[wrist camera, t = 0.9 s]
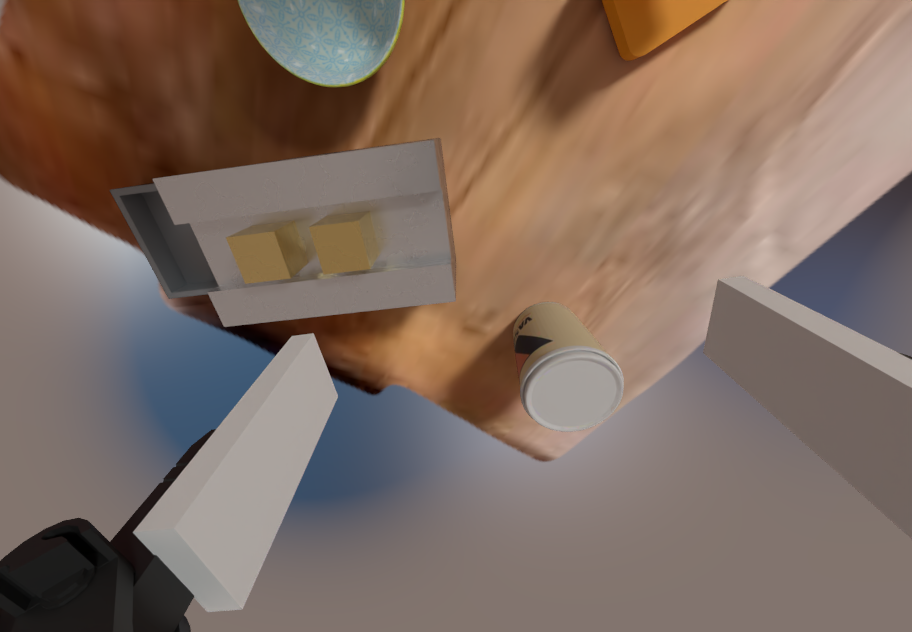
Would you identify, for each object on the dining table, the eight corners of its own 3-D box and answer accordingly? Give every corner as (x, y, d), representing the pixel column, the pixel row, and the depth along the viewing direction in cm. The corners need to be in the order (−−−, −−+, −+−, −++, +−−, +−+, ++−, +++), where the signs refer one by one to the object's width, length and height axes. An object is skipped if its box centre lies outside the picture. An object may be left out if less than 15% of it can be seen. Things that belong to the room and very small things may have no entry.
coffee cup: (512, 291, 40) (532, 349, 30) (593, 298, 41) (641, 357, 30) (500, 359, 44) (514, 431, 34) (573, 365, 45) (610, 437, 34)
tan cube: (325, 216, 27) (308, 227, 24) (369, 210, 27) (358, 220, 24) (337, 259, 29) (323, 274, 26) (379, 254, 29) (370, 269, 26)
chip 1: (251, 225, 28) (225, 237, 25) (294, 220, 28) (273, 231, 25) (267, 267, 29) (245, 283, 26) (308, 262, 29) (290, 278, 26)
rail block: (235, 166, 34) (152, 178, 25) (440, 137, 33) (433, 139, 24) (278, 281, 40) (224, 326, 30) (456, 260, 38) (455, 301, 29)
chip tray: (135, 185, 35) (109, 189, 32) (252, 169, 34) (234, 172, 32) (187, 287, 40) (168, 298, 37) (290, 275, 39) (278, 285, 37)
